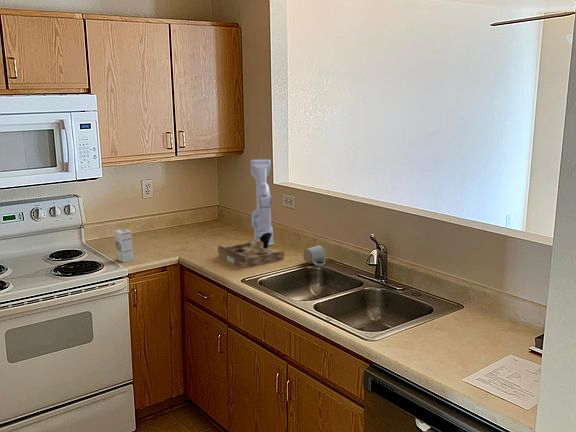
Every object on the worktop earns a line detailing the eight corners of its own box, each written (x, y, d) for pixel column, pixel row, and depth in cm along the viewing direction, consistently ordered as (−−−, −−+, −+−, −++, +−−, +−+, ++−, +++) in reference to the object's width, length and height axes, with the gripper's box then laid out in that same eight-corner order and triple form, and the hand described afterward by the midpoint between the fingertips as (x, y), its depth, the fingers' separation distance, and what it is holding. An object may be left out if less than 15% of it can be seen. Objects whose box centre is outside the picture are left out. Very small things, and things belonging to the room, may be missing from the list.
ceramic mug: (302, 261, 269) (302, 246, 267) (316, 259, 273) (316, 243, 272) (315, 268, 261) (315, 252, 259) (329, 265, 265) (330, 249, 263)
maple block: (258, 249, 280) (258, 240, 279) (263, 251, 276) (263, 242, 275) (250, 250, 278) (250, 241, 277) (255, 252, 274) (255, 243, 273)
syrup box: (133, 260, 271) (131, 230, 267) (122, 262, 267) (120, 232, 263) (127, 257, 275) (125, 228, 271) (116, 260, 271) (114, 230, 267)
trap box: (257, 248, 290) (257, 238, 289) (284, 258, 273) (284, 247, 272) (218, 256, 277) (218, 245, 275) (243, 268, 260) (243, 256, 258)
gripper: (263, 216, 284) (263, 243, 287) (250, 223, 271) (251, 250, 274) (276, 218, 282) (276, 244, 285) (264, 224, 268) (264, 252, 272)
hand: (265, 247), depth 279 cm, fingers closed
